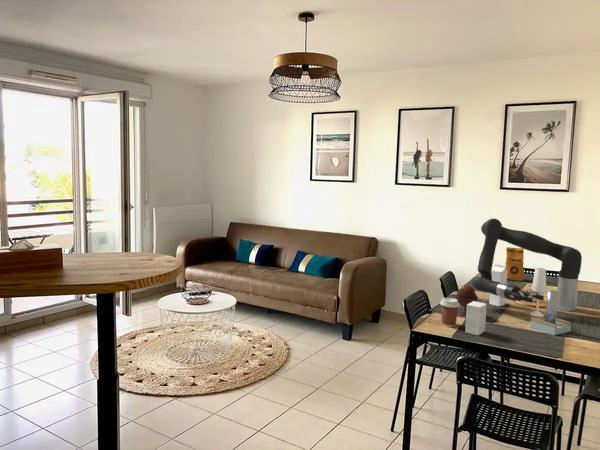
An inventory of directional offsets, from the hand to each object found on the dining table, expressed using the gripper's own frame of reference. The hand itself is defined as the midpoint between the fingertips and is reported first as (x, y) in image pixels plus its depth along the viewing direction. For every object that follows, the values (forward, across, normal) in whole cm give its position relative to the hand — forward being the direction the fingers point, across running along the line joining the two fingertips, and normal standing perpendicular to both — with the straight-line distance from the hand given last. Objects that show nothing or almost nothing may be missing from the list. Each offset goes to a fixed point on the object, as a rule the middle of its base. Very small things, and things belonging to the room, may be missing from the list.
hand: (537, 299), depth 230 cm
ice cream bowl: (-27, -18, +13) cm, 35 cm away
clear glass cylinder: (+7, 0, +9) cm, 12 cm away
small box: (-6, -35, +13) cm, 38 cm away
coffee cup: (-19, -38, +13) cm, 44 cm away
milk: (-32, +13, +13) cm, 37 cm away
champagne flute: (-10, +16, +13) cm, 23 cm away
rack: (+7, 0, +12) cm, 14 cm away
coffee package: (-69, +76, +13) cm, 103 cm away
